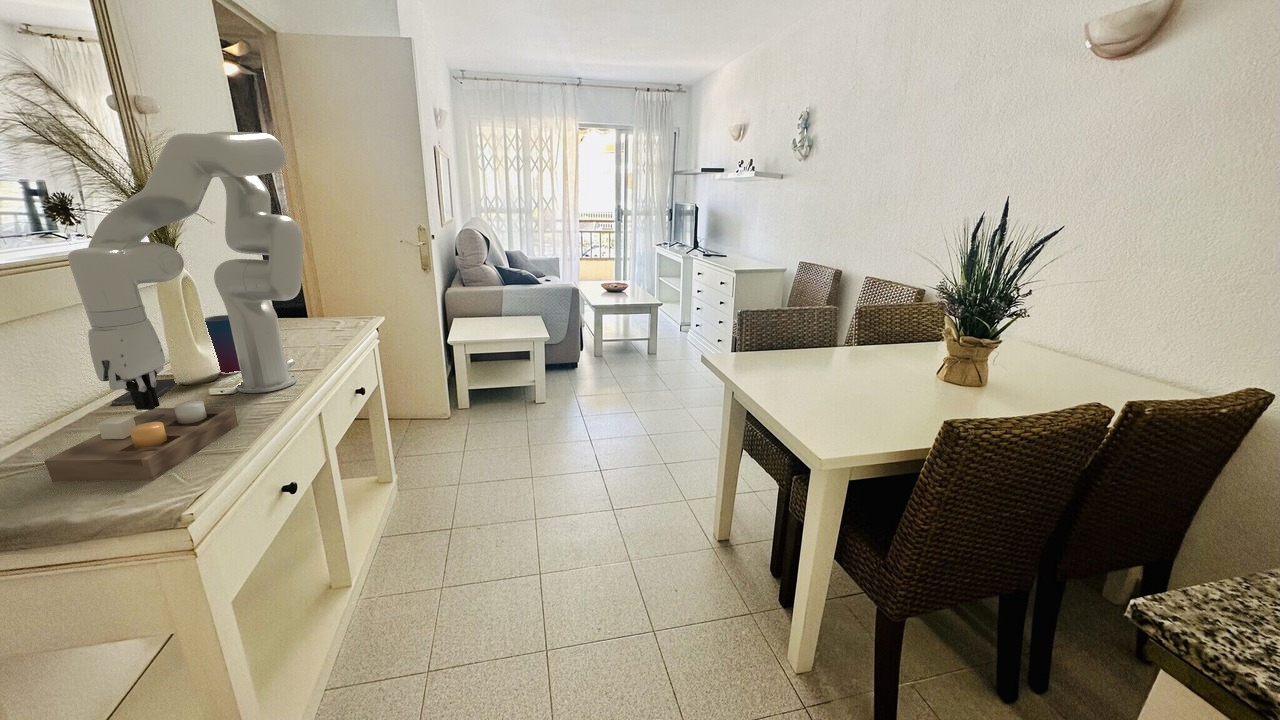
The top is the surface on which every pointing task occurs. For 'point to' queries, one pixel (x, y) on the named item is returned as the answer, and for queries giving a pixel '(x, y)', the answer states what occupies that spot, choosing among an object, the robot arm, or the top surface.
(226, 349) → the cup
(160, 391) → the phone
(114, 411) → the top surface
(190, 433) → the control panel
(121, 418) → the slider knob
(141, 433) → the orange button
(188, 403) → the grey button
